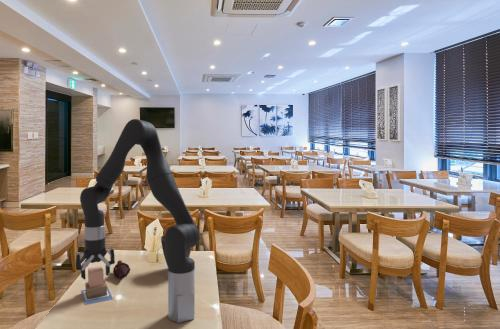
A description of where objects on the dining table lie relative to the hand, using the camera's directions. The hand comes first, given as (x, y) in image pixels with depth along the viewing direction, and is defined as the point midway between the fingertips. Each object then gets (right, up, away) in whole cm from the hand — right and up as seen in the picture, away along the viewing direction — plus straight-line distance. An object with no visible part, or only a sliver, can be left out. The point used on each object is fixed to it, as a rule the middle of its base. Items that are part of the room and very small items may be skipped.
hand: (95, 276), depth 143 cm
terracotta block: (0, -3, 0) cm, 3 cm away
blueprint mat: (0, -7, 0) cm, 8 cm away
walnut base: (0, -7, +1) cm, 7 cm away
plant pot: (+27, -6, +28) cm, 39 cm away
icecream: (+4, -6, +18) cm, 20 cm away
